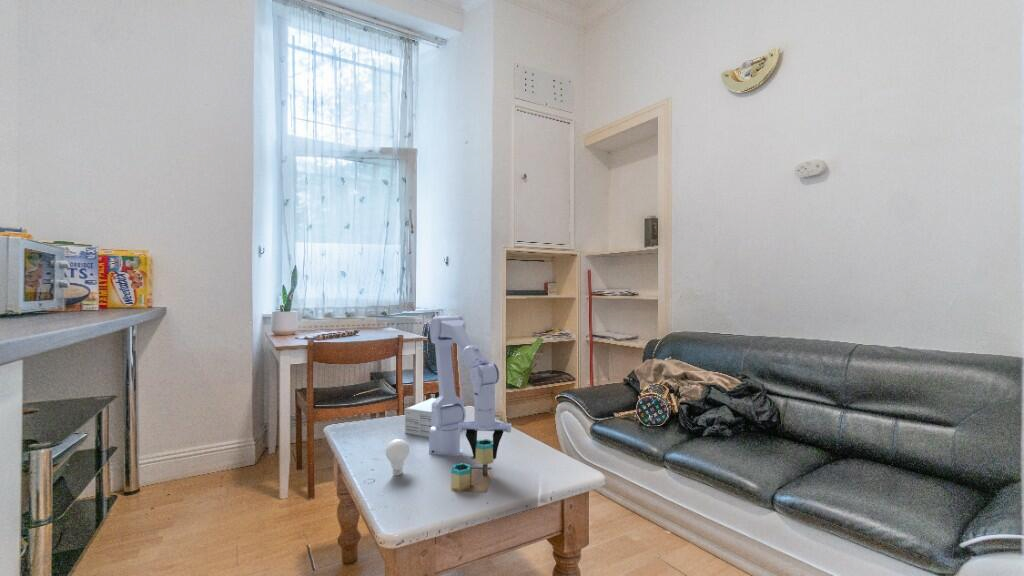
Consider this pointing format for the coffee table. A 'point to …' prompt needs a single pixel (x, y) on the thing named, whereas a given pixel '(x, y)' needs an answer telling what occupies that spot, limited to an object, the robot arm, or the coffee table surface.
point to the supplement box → (419, 418)
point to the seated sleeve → (461, 476)
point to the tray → (478, 466)
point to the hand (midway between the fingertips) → (485, 456)
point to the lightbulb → (397, 454)
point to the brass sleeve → (484, 451)
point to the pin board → (480, 480)
